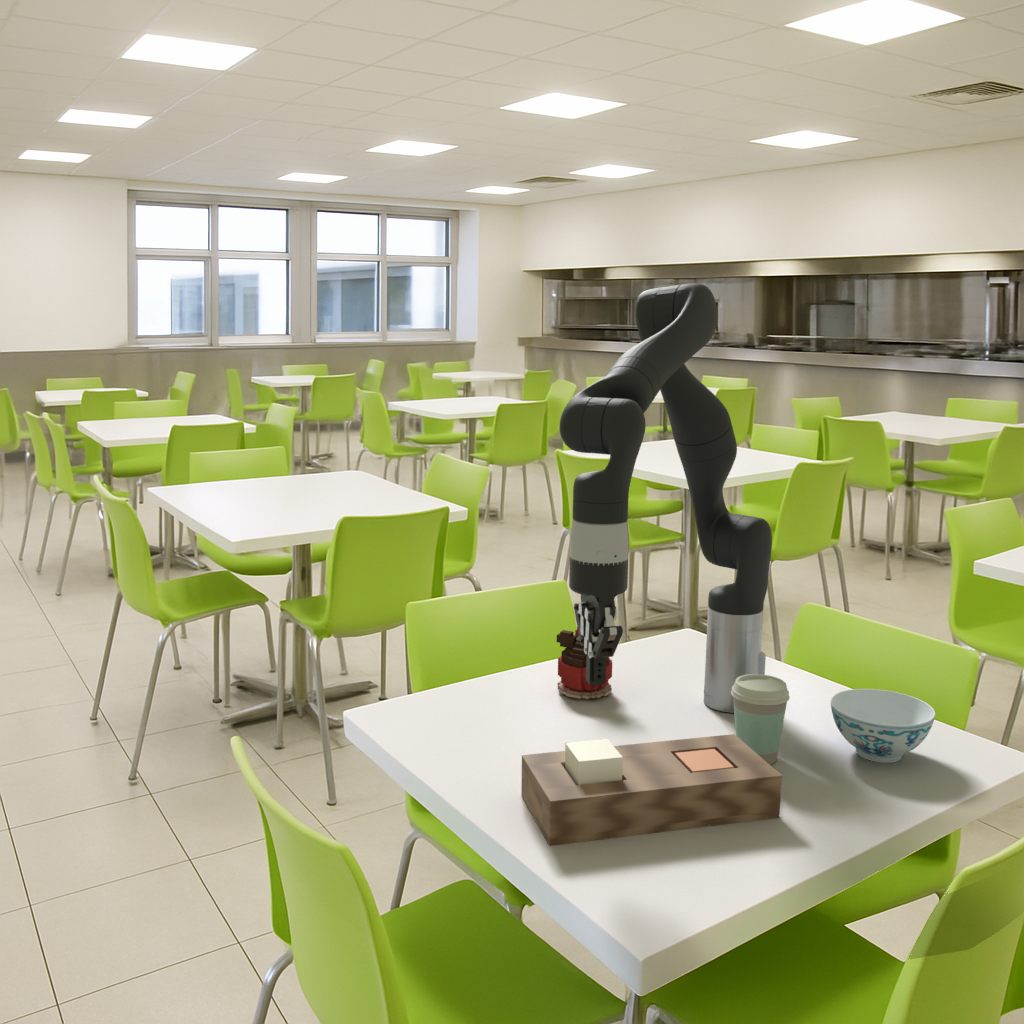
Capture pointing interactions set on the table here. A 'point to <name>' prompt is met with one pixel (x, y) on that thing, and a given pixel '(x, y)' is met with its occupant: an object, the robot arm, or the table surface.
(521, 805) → the table surface
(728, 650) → the robot arm
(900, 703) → the chinaware
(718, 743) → the block
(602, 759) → the cream key
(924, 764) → the table surface
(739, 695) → the coffee cup
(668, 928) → the table surface
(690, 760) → the terracotta key
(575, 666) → the cake
